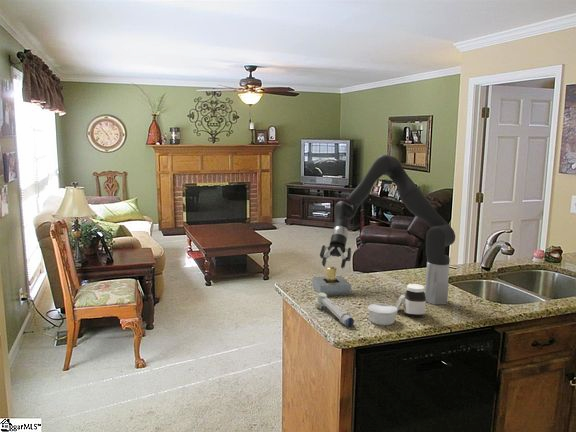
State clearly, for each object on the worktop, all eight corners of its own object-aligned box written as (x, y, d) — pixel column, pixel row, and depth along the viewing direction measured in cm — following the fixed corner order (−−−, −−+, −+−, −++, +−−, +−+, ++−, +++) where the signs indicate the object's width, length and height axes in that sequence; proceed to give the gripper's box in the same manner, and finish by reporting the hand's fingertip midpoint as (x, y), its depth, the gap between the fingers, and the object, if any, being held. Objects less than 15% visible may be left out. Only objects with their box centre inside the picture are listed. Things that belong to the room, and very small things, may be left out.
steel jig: (350, 294, 216) (350, 284, 215) (320, 295, 213) (320, 285, 212) (341, 284, 229) (341, 275, 228) (312, 286, 226) (312, 276, 226)
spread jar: (426, 319, 188) (428, 290, 186) (397, 318, 188) (399, 289, 186) (419, 308, 199) (421, 281, 197) (392, 307, 200) (393, 280, 198)
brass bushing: (336, 289, 219) (337, 268, 218) (327, 289, 218) (328, 269, 217) (334, 286, 224) (334, 266, 222) (324, 286, 223) (325, 266, 221)
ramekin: (394, 316, 190) (395, 303, 189) (398, 327, 179) (399, 314, 178) (366, 315, 191) (366, 302, 190) (368, 325, 180) (368, 312, 179)
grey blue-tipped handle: (344, 318, 177) (313, 289, 198) (342, 334, 179) (312, 304, 200) (356, 316, 179) (325, 288, 201) (354, 332, 181) (323, 302, 203)
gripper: (323, 232, 230) (316, 261, 221) (353, 234, 225) (347, 264, 216) (325, 240, 235) (319, 269, 227) (354, 243, 231) (349, 272, 222)
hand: (332, 266), depth 221 cm, fingers open, 8 cm apart
